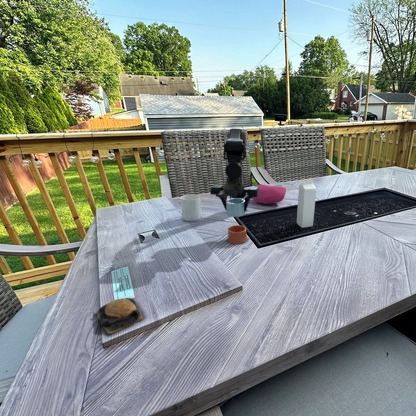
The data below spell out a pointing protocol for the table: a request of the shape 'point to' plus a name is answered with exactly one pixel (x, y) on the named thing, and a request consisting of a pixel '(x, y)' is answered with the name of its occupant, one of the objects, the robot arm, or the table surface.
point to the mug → (191, 207)
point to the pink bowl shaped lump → (270, 194)
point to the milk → (306, 203)
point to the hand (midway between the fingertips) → (235, 210)
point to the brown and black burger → (118, 315)
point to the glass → (235, 207)
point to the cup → (237, 234)
